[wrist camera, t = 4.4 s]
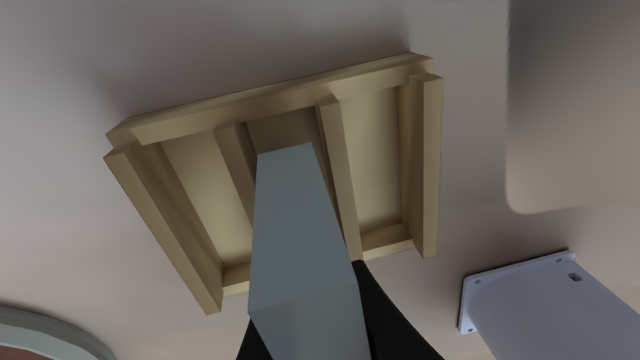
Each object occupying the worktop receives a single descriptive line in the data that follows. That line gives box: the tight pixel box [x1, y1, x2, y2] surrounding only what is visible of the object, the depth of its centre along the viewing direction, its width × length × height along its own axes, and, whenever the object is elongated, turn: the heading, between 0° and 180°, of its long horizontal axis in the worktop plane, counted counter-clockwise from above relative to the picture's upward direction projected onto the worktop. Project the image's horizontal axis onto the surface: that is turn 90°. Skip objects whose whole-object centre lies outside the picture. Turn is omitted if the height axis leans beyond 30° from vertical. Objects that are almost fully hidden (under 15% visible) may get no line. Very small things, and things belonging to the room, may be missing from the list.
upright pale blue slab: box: [248, 142, 371, 360], centre depth 11 cm, size 2×8×7 cm, turn 11°
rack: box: [103, 52, 443, 315], centre depth 15 cm, size 14×11×4 cm
